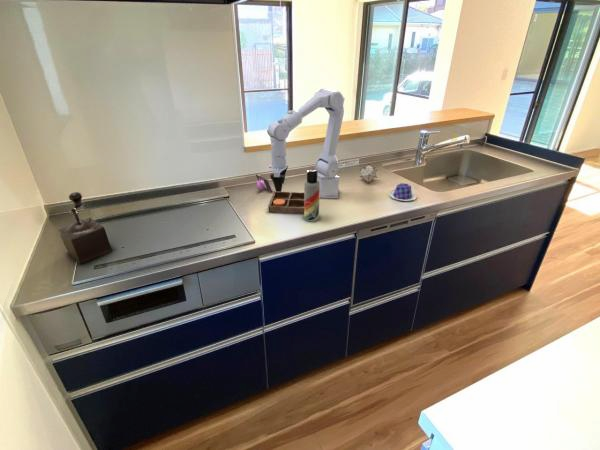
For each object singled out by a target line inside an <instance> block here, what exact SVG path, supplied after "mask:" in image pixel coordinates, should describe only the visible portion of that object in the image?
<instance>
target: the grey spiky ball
mask: <svg viewBox="0 0 600 450" xmlns="http://www.w3.org/2000/svg"><path fill="white" fill-rule="evenodd" d="M359 171H360V176H359V178H361V180H362V181H365V182H367V184H369V183H370V182H372V181H373V180H374V179H375V178H376V179H377V178H378V176H377V171H378V169H376V167H375V166H374V167H373V166H371V165H370V163H367V166H363V168H361V169H359Z"/></svg>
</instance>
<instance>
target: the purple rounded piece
mask: <svg viewBox="0 0 600 450" xmlns="http://www.w3.org/2000/svg"><path fill="white" fill-rule="evenodd" d="M255 176H256V179H257V183H256V188H257V189H258V190H259V191H258V192H259V193H261V191H262V190H263V189H265V190H267V191H268V192H270V193H273V189H272V186H271V185H270V182H269V180H268V179H267V178H264V177H262V176H261V175H259V174H255Z"/></svg>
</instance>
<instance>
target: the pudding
mask: <svg viewBox="0 0 600 450" xmlns="http://www.w3.org/2000/svg"><path fill="white" fill-rule="evenodd" d="M388 195H389V197H391V198H392V199H394V200H397V201H404V202H409V201H413V200H416V199H417V197H418V196H417V194H416V193H415V192H413V190H412V186H411V185H410V184H408V183H405V182H402V183H401V182H399V183H398V184H397V185H396V187H395V189H391V190H389V192H388Z"/></svg>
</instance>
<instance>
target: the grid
mask: <svg viewBox="0 0 600 450" xmlns="http://www.w3.org/2000/svg"><path fill="white" fill-rule="evenodd" d="M276 199H282V200H284V201H285V207H283V206H273V201H274V200H276ZM268 213H270V214H293V215H294V214H295V215H304V191H303V192H302V191H301V192H300V191H281V192H278V191H276V190H274V191H273V192H272V196H271V199H270V201H269V204H268Z"/></svg>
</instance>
